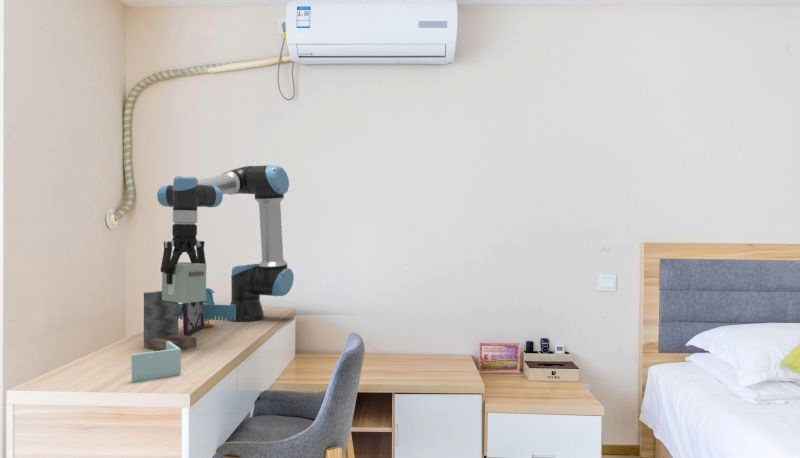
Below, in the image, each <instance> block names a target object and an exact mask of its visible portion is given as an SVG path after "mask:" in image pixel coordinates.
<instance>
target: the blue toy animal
mask: <svg viewBox="0 0 800 458" xmlns="http://www.w3.org/2000/svg"><path fill="white" fill-rule="evenodd" d="M215 293H216V292H215V291H214V290H213V289H212V288H209V287H206V301H202V305H201V306H200V308H201V309H200V310H201V313H202V316H203V320H204V328H207V327H209V326H210V327H214V324H213V323H210V321H212V320H213V321H215V320H216V321H227V322H229V321H230V322H236V321H235V320H236V305H235V304H232V305H230V304H215V302H214V295H213V294H215ZM182 308H183V303H178V315H179V313H180V311H181V309H182ZM232 317H233V321H232ZM179 319H180V320H182V321H183V310H182V312H181V314H180V316H179V317H178V320H179Z"/></svg>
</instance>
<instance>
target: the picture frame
mask: <svg viewBox="0 0 800 458" xmlns="http://www.w3.org/2000/svg"><path fill="white" fill-rule="evenodd" d="M182 304H183V308H182V309H181V311H180V313H179V315H178V317H179V318H180V314H181V312H182V310H183V319H182V325H183V326H182V329H183V335H186V336H192V335H194V334H195V333H197V332H199V331H201V330H204V329H205V327H204V320H203V316H202V313H201V310H200V309H201V308H200V306H201V305H202V301H199V302H190V303H182Z"/></svg>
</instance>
